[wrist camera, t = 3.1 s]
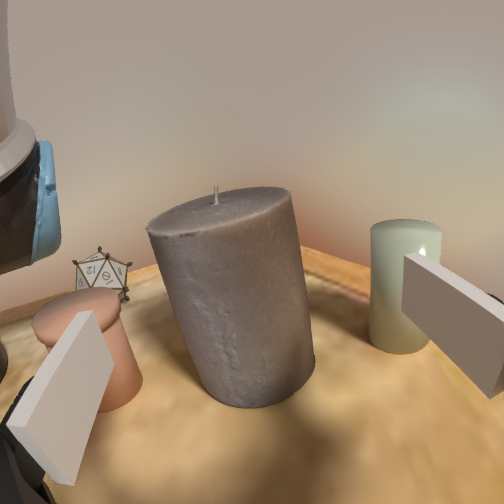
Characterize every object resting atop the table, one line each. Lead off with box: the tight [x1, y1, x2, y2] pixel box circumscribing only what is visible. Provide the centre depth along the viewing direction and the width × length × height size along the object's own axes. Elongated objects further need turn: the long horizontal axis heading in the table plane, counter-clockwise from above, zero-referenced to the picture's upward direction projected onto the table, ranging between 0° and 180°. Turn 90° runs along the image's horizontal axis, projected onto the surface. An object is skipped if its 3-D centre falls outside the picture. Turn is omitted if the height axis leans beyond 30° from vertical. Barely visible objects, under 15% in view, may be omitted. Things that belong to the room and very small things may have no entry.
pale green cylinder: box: [368, 219, 442, 354], centre depth 25 cm, size 6×6×10 cm
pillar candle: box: [145, 185, 315, 408], centre depth 23 cm, size 10×10×15 cm
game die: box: [72, 246, 132, 301], centre depth 38 cm, size 9×8×10 cm
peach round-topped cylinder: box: [31, 287, 143, 413], centre depth 23 cm, size 8×8×8 cm
